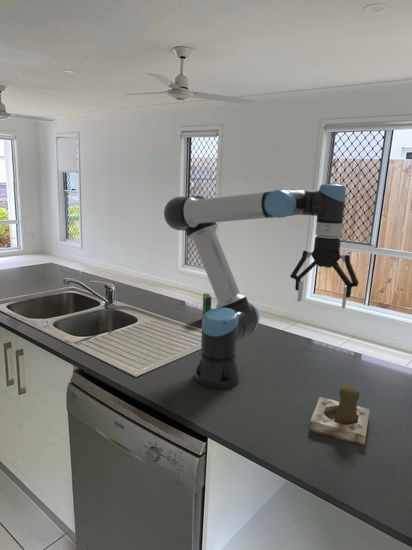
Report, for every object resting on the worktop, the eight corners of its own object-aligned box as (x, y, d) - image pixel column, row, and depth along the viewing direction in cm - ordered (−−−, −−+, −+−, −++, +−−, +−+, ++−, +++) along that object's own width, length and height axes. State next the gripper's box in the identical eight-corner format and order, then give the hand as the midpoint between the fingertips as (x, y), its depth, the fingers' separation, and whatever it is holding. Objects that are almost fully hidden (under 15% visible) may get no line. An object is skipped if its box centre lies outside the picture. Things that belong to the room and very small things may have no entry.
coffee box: (201, 318, 195) (202, 292, 192) (207, 318, 195) (208, 292, 192) (204, 324, 187) (205, 297, 184) (210, 324, 188) (211, 297, 185)
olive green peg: (358, 431, 108) (363, 395, 105) (335, 428, 109) (339, 391, 106) (355, 419, 113) (360, 384, 111) (333, 416, 115) (337, 381, 112)
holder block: (309, 430, 108) (310, 420, 108) (318, 405, 121) (319, 396, 120) (364, 446, 103) (365, 435, 102) (368, 418, 115) (369, 409, 114)
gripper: (284, 234, 123) (279, 300, 127) (371, 241, 112) (362, 313, 117) (290, 232, 129) (285, 295, 134) (372, 238, 119) (364, 306, 124)
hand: (321, 303), depth 126 cm, fingers open, 13 cm apart
